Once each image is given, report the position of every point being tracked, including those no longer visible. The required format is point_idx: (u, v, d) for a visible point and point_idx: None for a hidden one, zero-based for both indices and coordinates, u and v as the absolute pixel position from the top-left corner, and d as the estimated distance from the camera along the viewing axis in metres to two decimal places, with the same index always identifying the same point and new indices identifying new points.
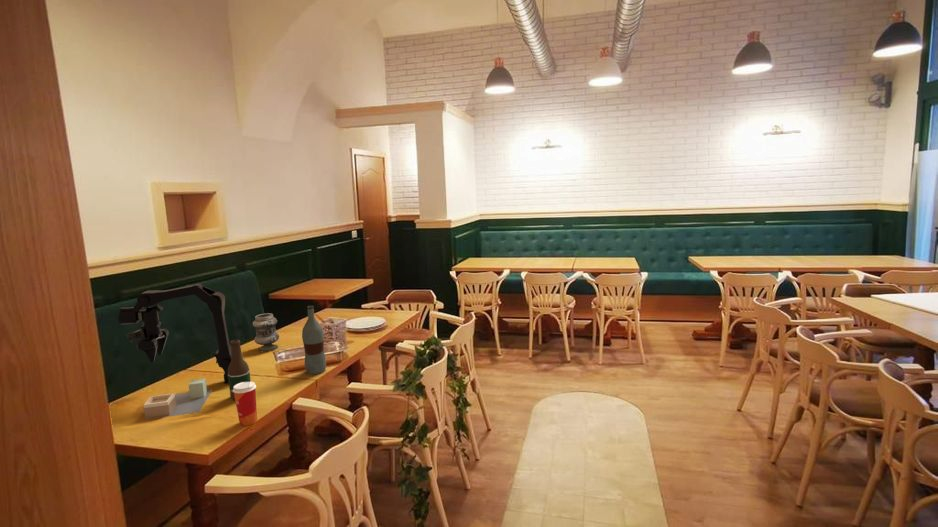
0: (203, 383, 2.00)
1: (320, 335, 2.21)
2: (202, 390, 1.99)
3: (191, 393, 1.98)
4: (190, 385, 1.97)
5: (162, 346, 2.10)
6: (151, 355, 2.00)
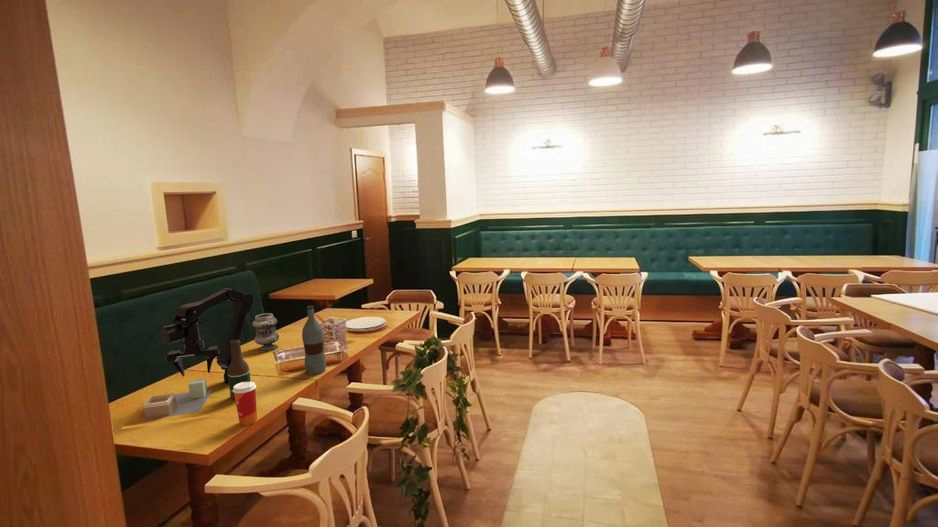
0: (203, 383, 2.00)
1: (320, 335, 2.21)
2: (202, 390, 1.99)
3: (191, 393, 1.98)
4: (190, 385, 1.97)
5: None
6: None
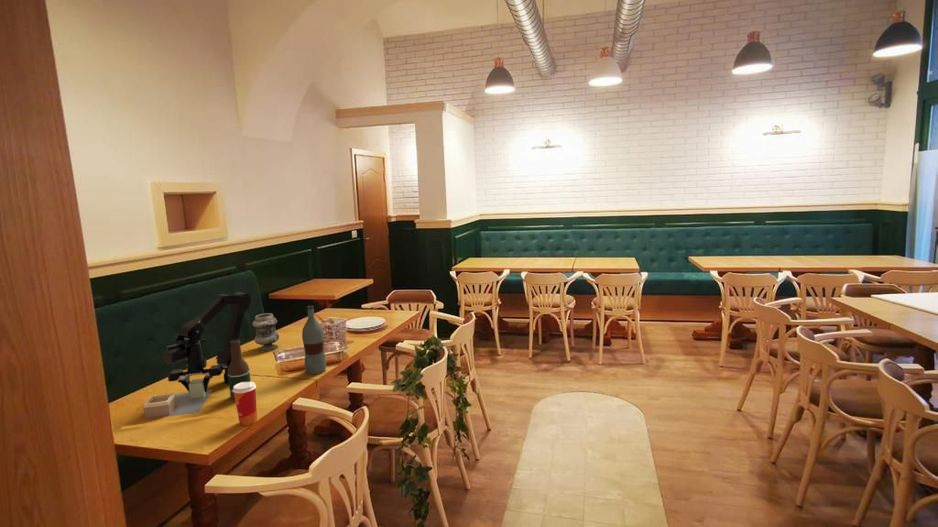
0: (203, 383, 2.00)
1: (320, 335, 2.21)
2: (202, 390, 1.99)
3: (191, 393, 1.98)
4: (190, 385, 1.97)
5: None
6: None
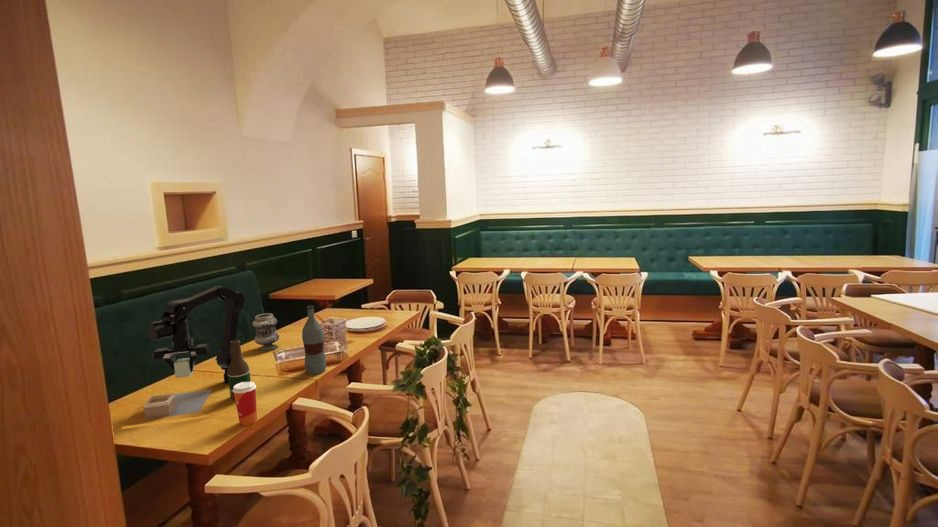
0: (189, 362, 1.94)
1: (320, 335, 2.21)
2: (188, 369, 1.93)
3: (176, 372, 1.92)
4: (175, 364, 1.92)
5: None
6: None
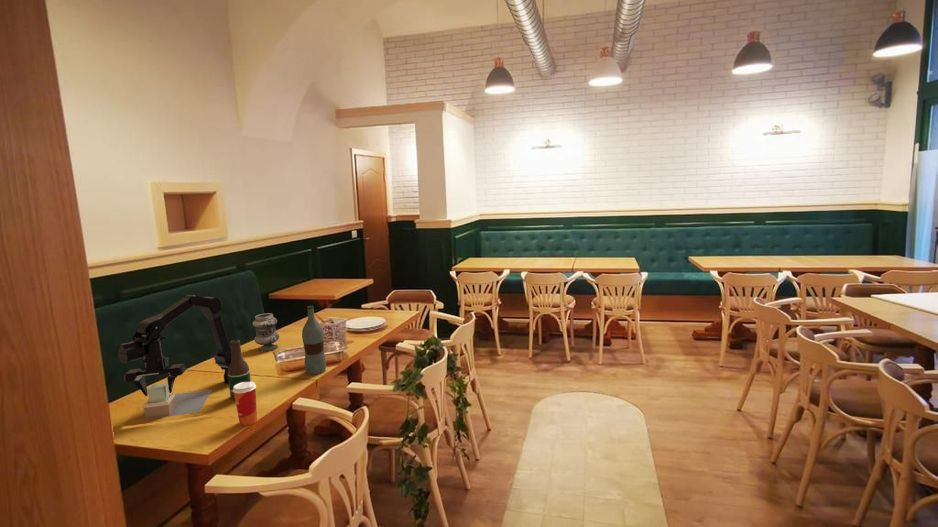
0: (164, 389, 1.85)
1: (320, 335, 2.21)
2: (163, 396, 1.84)
3: (151, 399, 1.83)
4: (149, 391, 1.83)
5: None
6: None
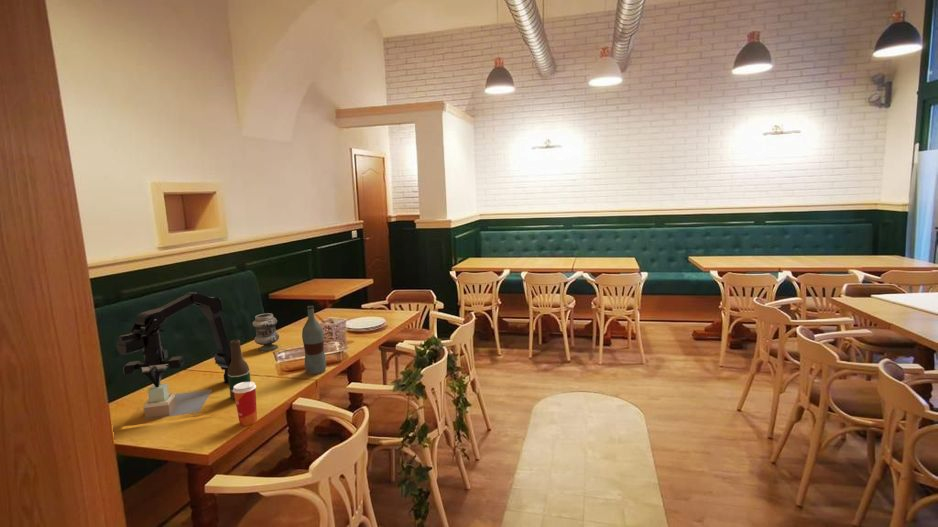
0: (164, 389, 1.85)
1: (320, 335, 2.21)
2: (163, 396, 1.84)
3: (151, 399, 1.83)
4: (149, 391, 1.83)
5: None
6: None
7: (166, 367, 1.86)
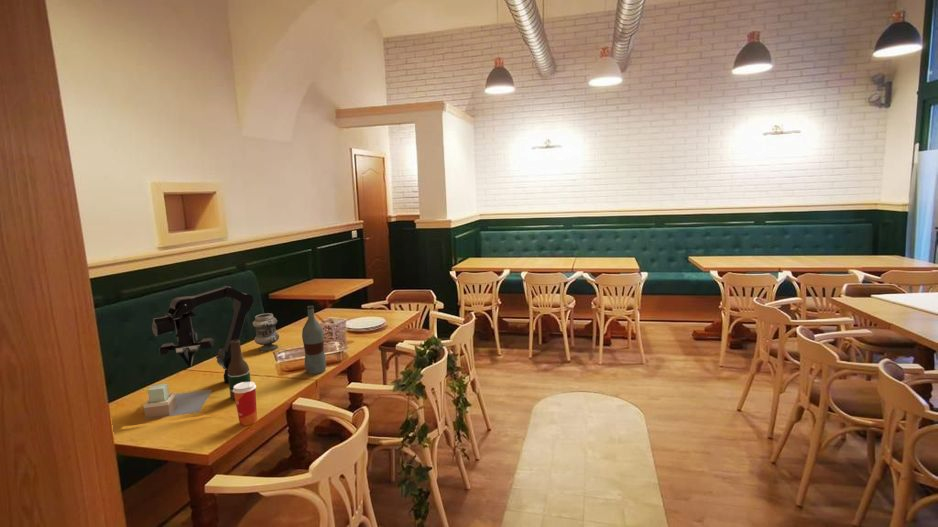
0: (164, 389, 1.85)
1: (320, 335, 2.21)
2: (163, 396, 1.84)
3: (151, 399, 1.83)
4: (149, 391, 1.83)
5: None
6: None
7: (197, 348, 2.01)
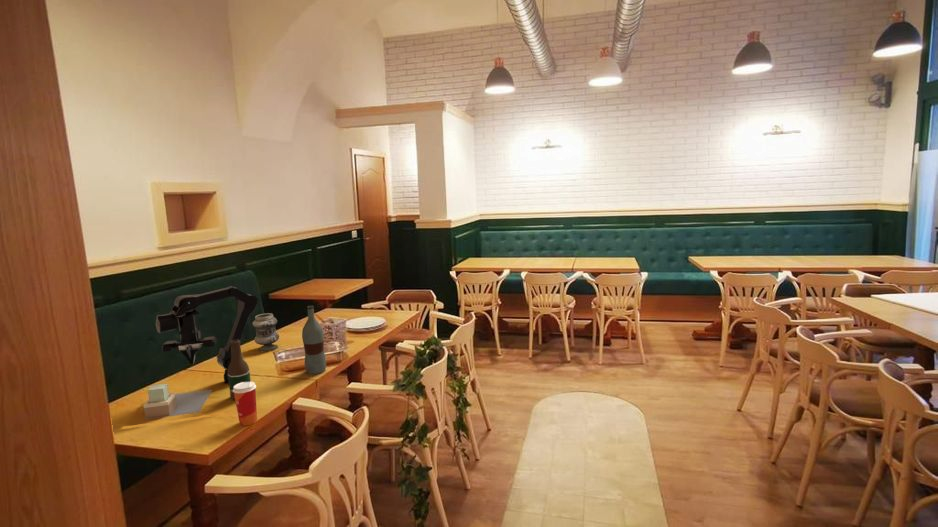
0: (164, 389, 1.85)
1: (320, 335, 2.21)
2: (163, 396, 1.84)
3: (151, 399, 1.83)
4: (149, 391, 1.83)
5: None
6: None
7: (200, 346, 2.03)
